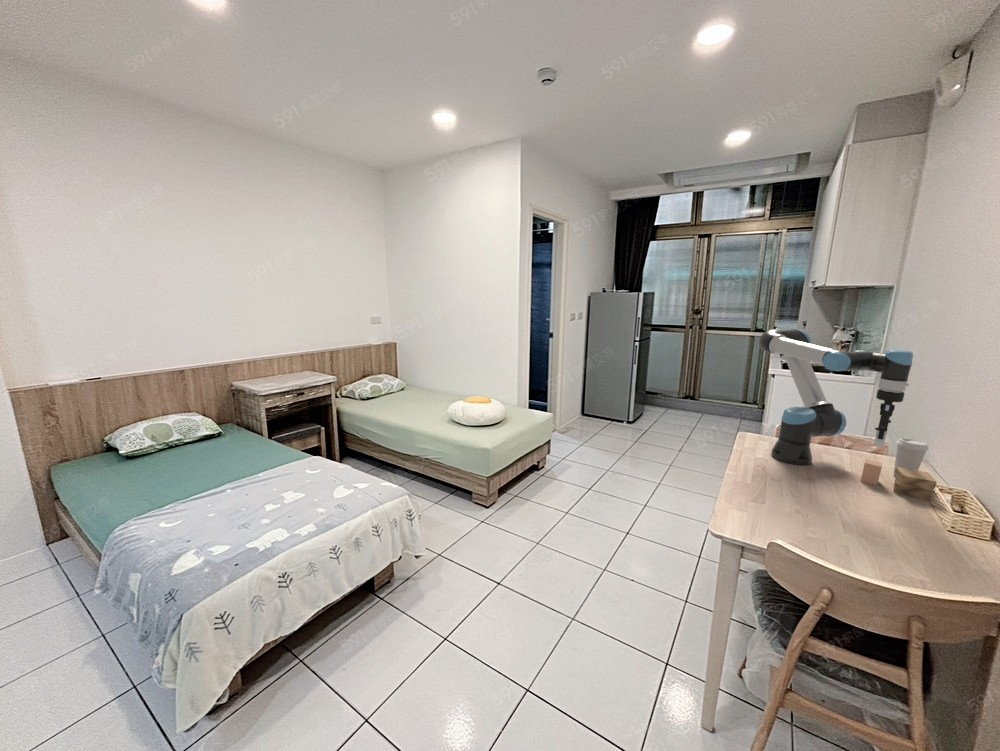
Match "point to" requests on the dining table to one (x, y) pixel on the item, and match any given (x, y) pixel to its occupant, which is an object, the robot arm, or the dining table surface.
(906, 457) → the coffee cup
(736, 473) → the dining table surface
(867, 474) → the terracotta block
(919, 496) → the slab bottom
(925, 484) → the slab top
